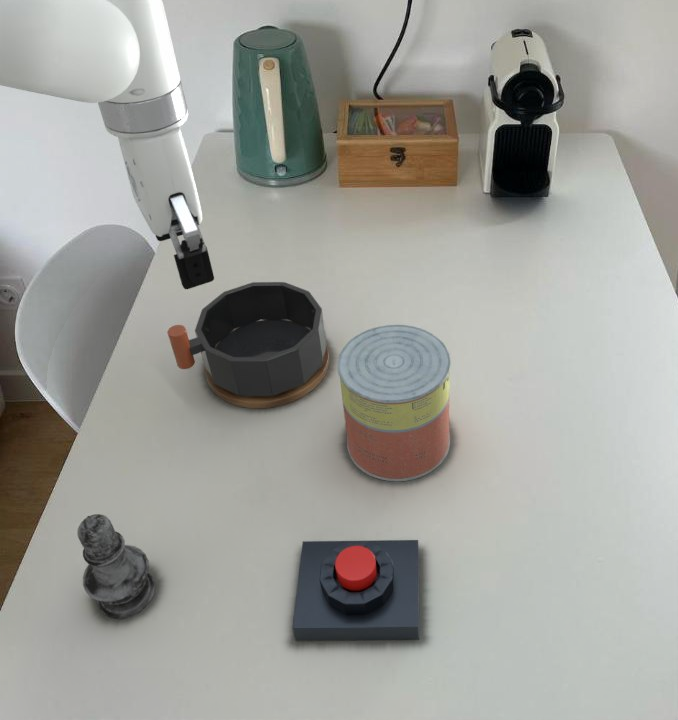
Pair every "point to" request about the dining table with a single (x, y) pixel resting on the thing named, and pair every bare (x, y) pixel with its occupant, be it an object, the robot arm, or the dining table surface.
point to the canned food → (396, 401)
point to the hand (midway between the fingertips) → (184, 259)
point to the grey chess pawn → (114, 569)
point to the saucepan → (256, 339)
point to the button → (356, 568)
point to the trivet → (276, 399)
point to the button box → (358, 594)
